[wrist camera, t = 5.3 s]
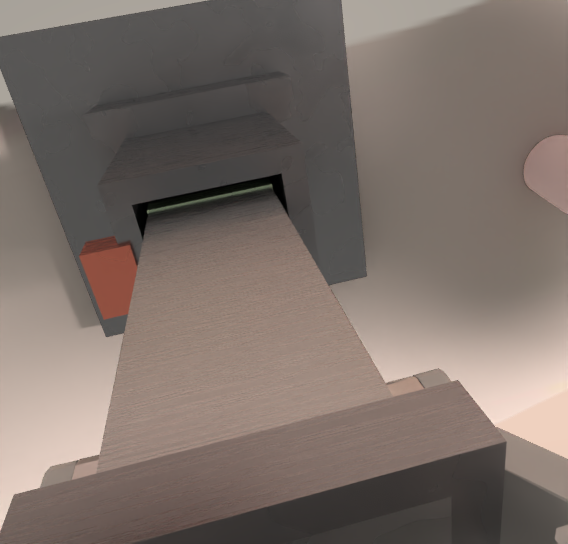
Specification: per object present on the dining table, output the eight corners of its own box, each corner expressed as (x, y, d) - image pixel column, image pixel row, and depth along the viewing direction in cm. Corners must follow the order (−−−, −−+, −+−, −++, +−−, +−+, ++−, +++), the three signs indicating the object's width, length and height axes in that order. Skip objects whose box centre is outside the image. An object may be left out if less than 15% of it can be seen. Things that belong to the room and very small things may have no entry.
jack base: (330, -19, 24) (448, -64, 13) (359, 266, 32) (450, 385, 21) (-1, 38, 23) (-167, 40, 12) (109, 323, 30) (67, 485, 19)
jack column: (260, 132, 21) (506, 440, 5) (280, 242, 23) (489, 691, 7) (139, 157, 20) (-20, 585, 4) (171, 267, 23) (143, 803, 7)
